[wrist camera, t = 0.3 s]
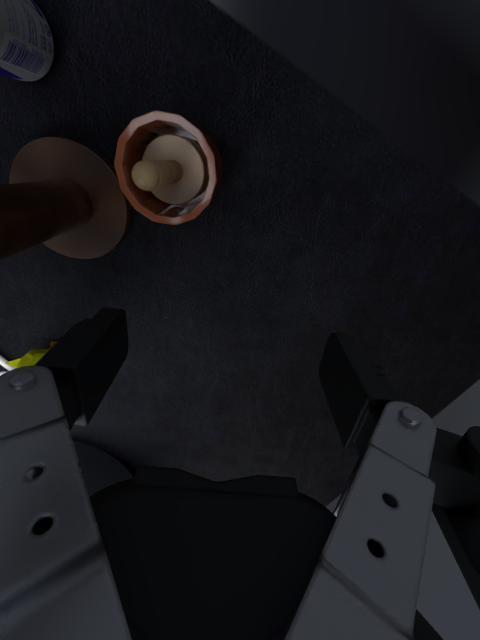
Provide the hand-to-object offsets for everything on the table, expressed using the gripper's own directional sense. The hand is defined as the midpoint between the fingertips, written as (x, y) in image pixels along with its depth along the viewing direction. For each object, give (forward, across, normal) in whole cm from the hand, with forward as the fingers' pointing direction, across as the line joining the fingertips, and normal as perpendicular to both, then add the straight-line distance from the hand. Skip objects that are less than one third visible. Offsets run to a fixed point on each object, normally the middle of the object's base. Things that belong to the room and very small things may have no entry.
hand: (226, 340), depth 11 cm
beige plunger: (+18, +5, -5) cm, 19 cm away
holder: (+19, +5, -5) cm, 20 cm away
